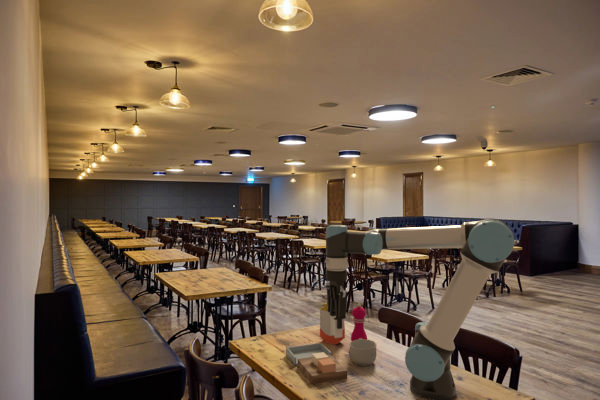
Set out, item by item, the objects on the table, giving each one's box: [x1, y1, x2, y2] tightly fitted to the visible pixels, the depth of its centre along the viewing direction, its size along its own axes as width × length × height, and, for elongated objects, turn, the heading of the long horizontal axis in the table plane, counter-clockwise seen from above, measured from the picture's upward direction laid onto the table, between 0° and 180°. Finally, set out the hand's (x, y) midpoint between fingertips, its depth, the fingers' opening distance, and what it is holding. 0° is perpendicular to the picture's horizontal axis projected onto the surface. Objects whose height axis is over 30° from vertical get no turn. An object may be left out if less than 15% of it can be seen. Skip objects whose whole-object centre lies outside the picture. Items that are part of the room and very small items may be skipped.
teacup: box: [348, 338, 377, 367], centre depth 164 cm, size 14×11×8 cm
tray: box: [285, 342, 333, 367], centre depth 168 cm, size 12×16×4 cm
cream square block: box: [312, 352, 329, 366], centre depth 155 cm, size 5×5×3 cm
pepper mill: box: [350, 303, 368, 342], centre depth 178 cm, size 7×7×20 cm
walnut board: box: [297, 355, 348, 385], centre depth 154 cm, size 16×14×3 cm
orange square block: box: [318, 358, 336, 374], centre depth 149 cm, size 5×5×3 cm
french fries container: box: [319, 302, 346, 346], centre depth 186 cm, size 5×11×18 cm, turn 58°
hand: (336, 335), depth 141 cm, fingers open, 3 cm apart
